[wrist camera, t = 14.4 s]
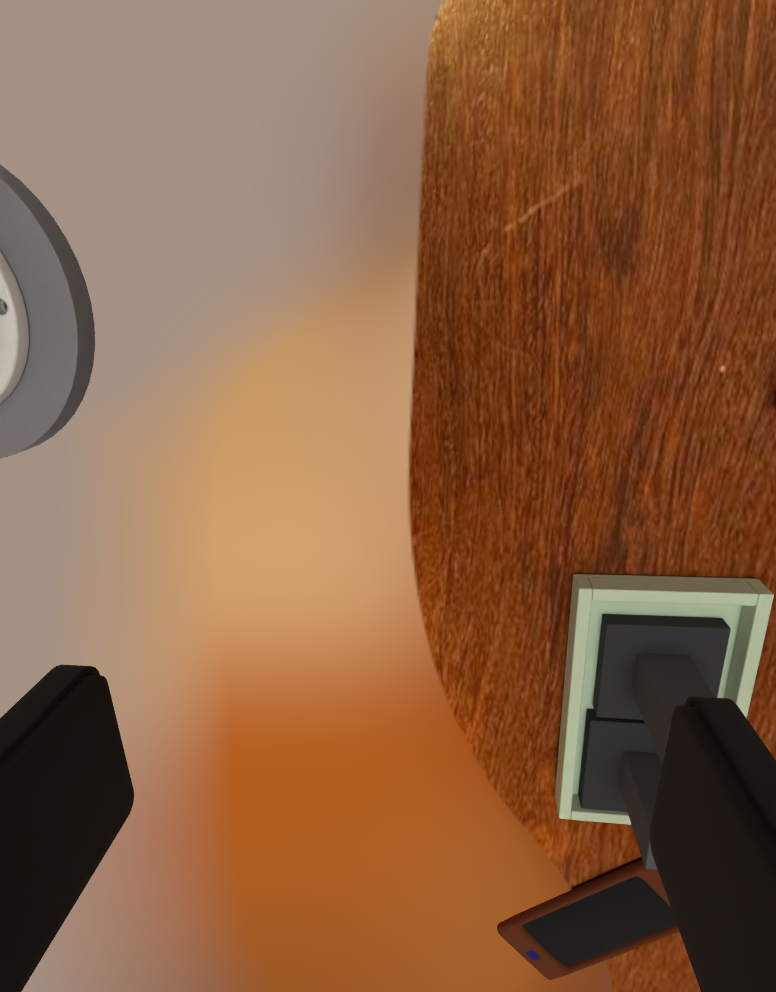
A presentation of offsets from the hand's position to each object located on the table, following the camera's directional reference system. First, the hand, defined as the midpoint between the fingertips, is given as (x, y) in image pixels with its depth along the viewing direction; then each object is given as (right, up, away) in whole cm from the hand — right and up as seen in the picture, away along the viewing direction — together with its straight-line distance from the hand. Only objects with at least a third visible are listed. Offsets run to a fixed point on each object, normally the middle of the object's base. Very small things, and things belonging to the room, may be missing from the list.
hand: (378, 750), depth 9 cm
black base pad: (+17, -14, +29) cm, 36 cm away
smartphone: (+11, -34, +37) cm, 51 cm away
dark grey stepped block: (+17, -6, +26) cm, 32 cm away
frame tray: (+17, -9, +28) cm, 34 cm away
